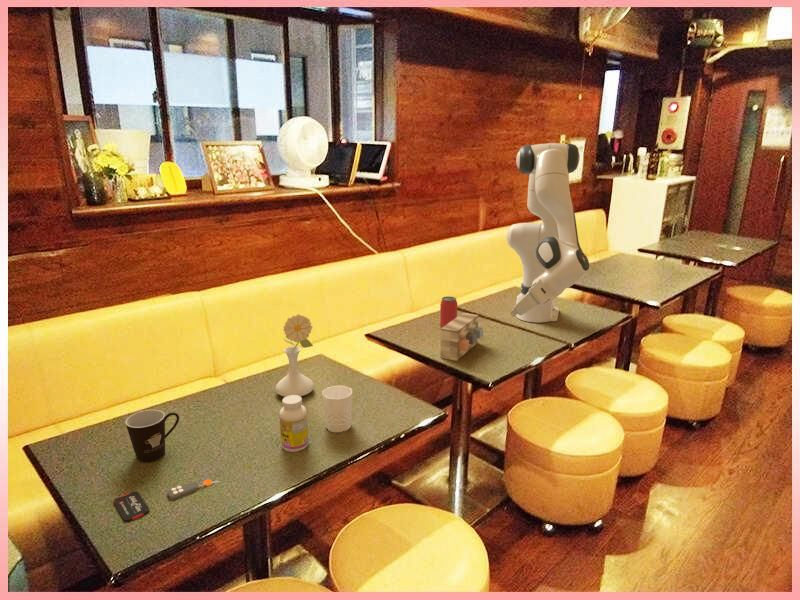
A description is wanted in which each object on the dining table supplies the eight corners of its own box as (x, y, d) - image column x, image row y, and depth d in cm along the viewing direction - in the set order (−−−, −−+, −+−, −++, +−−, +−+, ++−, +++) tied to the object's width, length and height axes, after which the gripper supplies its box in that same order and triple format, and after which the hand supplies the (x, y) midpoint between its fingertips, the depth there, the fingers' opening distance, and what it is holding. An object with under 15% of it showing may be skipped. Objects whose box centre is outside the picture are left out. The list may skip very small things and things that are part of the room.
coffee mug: (131, 468, 130) (124, 430, 127) (131, 450, 138) (125, 413, 135) (184, 457, 135) (179, 420, 132) (182, 439, 142) (177, 404, 139)
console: (462, 339, 208) (463, 312, 205) (477, 342, 205) (478, 315, 202) (440, 357, 192) (440, 328, 189) (456, 360, 189) (457, 331, 186)
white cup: (320, 422, 150) (318, 388, 147) (348, 416, 153) (346, 383, 150) (328, 436, 143) (326, 401, 140) (357, 430, 146) (356, 395, 143)
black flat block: (111, 499, 119) (136, 489, 122) (112, 502, 119) (137, 492, 122) (125, 522, 112) (150, 511, 115) (125, 524, 112) (151, 514, 116)
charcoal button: (468, 340, 197) (468, 332, 197) (476, 341, 196) (476, 333, 195) (464, 343, 195) (465, 335, 194) (472, 344, 194) (473, 336, 193)
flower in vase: (267, 396, 165) (261, 316, 157) (290, 381, 175) (285, 304, 167) (304, 405, 159) (299, 322, 152) (326, 389, 169) (322, 310, 162)
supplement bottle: (278, 442, 141) (274, 396, 137) (303, 435, 144) (300, 390, 140) (286, 455, 135) (283, 408, 131) (312, 448, 138) (309, 401, 134)
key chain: (171, 503, 119) (170, 497, 119) (166, 494, 122) (166, 488, 121) (231, 481, 126) (230, 476, 126) (225, 473, 129) (225, 468, 129)
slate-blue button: (475, 334, 203) (475, 326, 202) (482, 336, 201) (483, 328, 201) (471, 337, 200) (472, 329, 199) (479, 338, 199) (480, 330, 198)
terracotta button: (460, 346, 192) (460, 338, 191) (468, 348, 191) (469, 339, 190) (457, 349, 189) (457, 341, 189) (465, 351, 188) (465, 342, 187)
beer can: (457, 330, 217) (458, 301, 213) (440, 330, 217) (440, 301, 214) (456, 324, 223) (456, 296, 220) (439, 324, 223) (440, 296, 220)
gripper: (548, 273, 193) (518, 297, 200) (530, 288, 176) (499, 313, 183) (560, 288, 192) (530, 310, 199) (543, 303, 175) (511, 328, 182)
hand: (515, 312), depth 191 cm, fingers open, 5 cm apart
